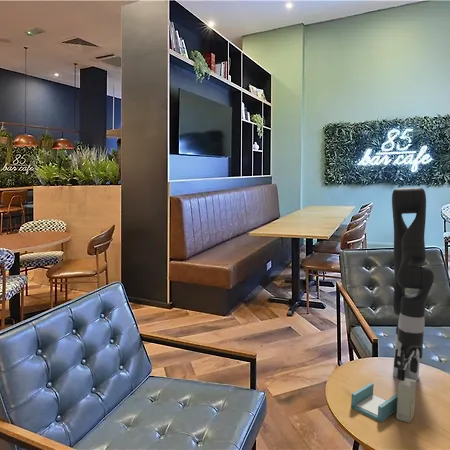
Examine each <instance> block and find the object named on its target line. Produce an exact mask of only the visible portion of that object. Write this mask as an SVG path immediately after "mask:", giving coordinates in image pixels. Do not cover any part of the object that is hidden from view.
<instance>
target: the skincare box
mask: <svg viewBox="0 0 450 450" xmlns="http://www.w3.org/2000/svg"><path fill="white" fill-rule="evenodd" d="M397 385H398V386H397V387H398V388H397V394H398V400H397V411H396V417H395V418H396V420H399V421H402V422H404V423H407V424H410V423H412V420H413V419H414V416H415V408H416V407H415V405H416V390H417V389H416V387H417V386H416V385H417V381H416V380H412V379H409V378H405V380H404V381H401V380H399V383H398V384H397Z"/></svg>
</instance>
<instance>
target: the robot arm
mask: <svg viewBox="0 0 450 450" xmlns="http://www.w3.org/2000/svg"><path fill="white" fill-rule="evenodd" d="M391 207H392V208H391V209H392V219H393V223H392V224H393V266H394V284H393V285H394V286H393V299H392V300H393V301H392V308H393V313H394V314H395V315H396V316H399V317H398V325H397V326H396V328H395V336H394V337H395V338H394V339H395V341H394V352H393V353H394V355H393V356H394V357H393V367H392V375H393V377H394V378H396V379H397V380H399V381H400V380H401V381H404V380H405V378H409V379H412V380H416V382H417V381H418V380H419V374H420V362H421V359H422V358H423V352H424V351H423V349H424V337H425V336H424V333H425V323H426V322H425V311H426V304H427V303H426V302H427V299H428V296H429V293H430V291H431V289H432V286H433V283H434V280H435V276H434V272H433V270H432V269H431V268H430V267H427V266H426V267H425V266H421V264H423V263H424V262H425V261H426V256H427V255H426V244H425V231H426V217H427V195H426V191H425V189H424V188H423V187H397V188H394V189H393V191H392V193H391ZM403 214H404V215H405V214H407V215H409V214H415V217H414V219H413V221H412V222H411V224H410V225H409V226H407V225H406V223H405V221H404V218H403ZM406 289H413V290H414V289H415V290H418V291H416V292H414V293H407V292H406Z"/></svg>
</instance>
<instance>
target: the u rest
mask: <svg viewBox="0 0 450 450" xmlns="http://www.w3.org/2000/svg"><path fill="white" fill-rule="evenodd" d="M397 400H398V393H395V394H393V395H392V396H391V397H390V398H388V399H384V398H383V397H380V396H378V395H376V394H374V383H373V382H369V383H367V384H366V385H364V386H363V387H361V388H359V389H357V390H355V391H354V392H352V393H351V401H350V402H351V403H350V404H351V405H350V408H351V409H353V410H355V411H357V412H359V413H361V414H364V415H366V416H367V417H370V418H371V419H374V420H375V421H378V422H380V423H382V422H384V421H385V420H386V419H388V418H389V417H390V416H391V415H393V414H394V413H397Z"/></svg>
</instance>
